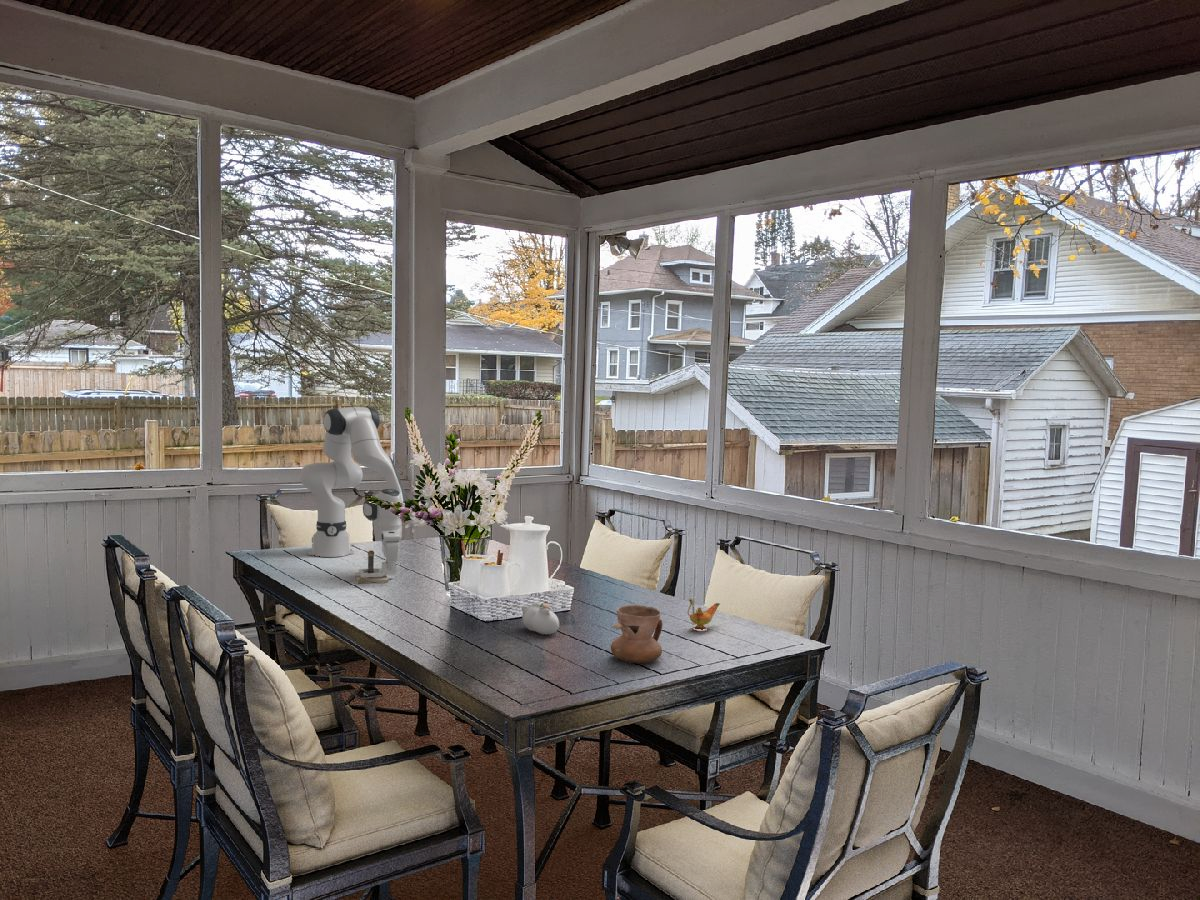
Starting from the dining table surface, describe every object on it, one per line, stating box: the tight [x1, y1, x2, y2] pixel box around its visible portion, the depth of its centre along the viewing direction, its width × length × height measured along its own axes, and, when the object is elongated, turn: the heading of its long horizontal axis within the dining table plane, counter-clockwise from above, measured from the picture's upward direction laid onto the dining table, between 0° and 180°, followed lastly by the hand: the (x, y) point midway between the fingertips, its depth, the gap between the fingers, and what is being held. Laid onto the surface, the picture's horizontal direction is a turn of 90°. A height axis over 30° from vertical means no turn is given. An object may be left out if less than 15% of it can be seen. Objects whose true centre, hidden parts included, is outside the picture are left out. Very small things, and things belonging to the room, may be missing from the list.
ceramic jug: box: [610, 604, 663, 664], centre depth 252 cm, size 18×14×14 cm
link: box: [358, 561, 397, 577], centre depth 335 cm, size 8×13×4 cm, turn 109°
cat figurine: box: [520, 601, 560, 636], centre depth 275 cm, size 10×8×15 cm
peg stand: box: [354, 550, 389, 584], centre depth 336 cm, size 13×11×11 cm
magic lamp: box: [687, 598, 721, 630], centre depth 285 cm, size 7×18×11 cm, turn 139°
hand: (389, 569), depth 337 cm, fingers closed on link, 2 cm apart
